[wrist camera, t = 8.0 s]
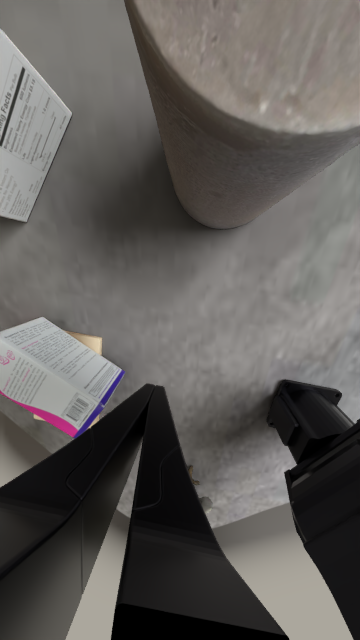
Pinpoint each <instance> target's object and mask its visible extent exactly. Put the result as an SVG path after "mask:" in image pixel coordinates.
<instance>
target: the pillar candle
mask: <svg viewBox="0 0 360 640" xmlns="http://www.w3.org/2000/svg"><path fill="white" fill-rule="evenodd" d="M124 2H125V6H126V10H127V13H128V16H129V20H130V24H131V28H132V32H133V35H134V39H135V43H136V46H137V50H138V53H139V57H140V61H141V65H142V68H143V72H144V76H145V80H146V83H147V86H148V90H149V94H150V97H151V101H152V105H153V109H154V112H155V116H156V120H157V124H158V128H159V132H160V135H161V140H162V145H163V148H164V153H165V157H166V160H167V164H168V167H169V172H170V176H171V178H172V183H173V187H174V190H175V193H176V195H177V197H178V200H179V201H180V203H181V205H182V207H183V208H184V209H185V211H186V212H187V213H188V214H189V215H190V216H191V217H192V218H193V219H195V220H196V221H198V222H199V223H201V224H203V225H205V226H208V227H211V228H217V229H229V228H235V227H239V226H241V225H244V224H246V223H248V222H250V221H252V220H253V219H255V218H256V217H258V216H259V215H260V214H262V213H263V212H265V211H266V210H268V209H269V208H271V207H272V206H273V205H275V204H276V203H278V202H279V201H280V200H282V199H283V198H284V197H286V196H287V195H289V194H290V193H291V192H293V191H294V190H296V189H297V188H298V187H300V186H301V185H303V184H304V183H305V182H307V181H308V180H310V179H311V178H312V177H314V176H315V175H316V174H318V173H319V172H321V171H322V170H324V169H325V168H326V167H328V166H330V165H331V164H332V163H333V162H335V161H336V160H337V159H338V158H340V157H341V156H343V155H344V154H345V153H347V152H348V151H349V150H351V149H352V148H354V147H355V146H357V145H358V144H360V0H124Z"/></svg>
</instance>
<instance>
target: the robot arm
mask: <svg viewBox="0 0 360 640" xmlns="http://www.w3.org/2000/svg"><path fill="white" fill-rule="evenodd" d="M286 384H288V385H287V386H285V385H286ZM335 394H336V395H335ZM341 397H342V393H341V392H340V391H338V390H336V389H331V388H326V387H321V386H316V385H311V384H305V383H300V382H295V381H290V380H284V381H282V383H281V385H280V388H279V390H278V393H277V396H276V397H275V398H274V401H273V403H272V406H271V409H270V411H269V416H268V418H267V424H268V426H270V427H274V428H276V430H277V432H278V434H279V436H280V438H281V440H282V442H283V444H284V445H285V446H288V448H289V450H290V452H291V454H292V456H293V458H294V460H295V462H296V464H297V465H296V466H295V467H294V468H292V469H291V470H287V471H286V472H284V474H285V479H286V484H287V490H288V495H289V500H290V504H291V510H292V515H293V520H294V523H295V527H296V531H297V533H298V535H299V536H300V538H301V540H302V542H303V545H304V548H305V550H306V551H307V553H308V554H309V555H310V557H311V559H312V560H313V562H314V563H315V565H316V566H317V568H318V570H319V571H320V573H321V575H322V577H323V579H324V580H325V582H326V584H327V586H328V587H329V589H330V591H331V593H332V595H333V597H334V599H335V601H336V603H337V605H338V607H339V609H340V611H341V613H342V615H343V618H344V620H345V622H346V624H347V626H348V628H349V631H350V633H351V635H352V637H353V639H354V640H360V419H359V420H357V423H356V424H354V423H353V421H352V420H351V419H350V418H349V417H348V416H347V415H346V414H345V413H344V412H343V411H342V410H341V409H340V408H339V407H338V406H337V404H338V402H339V401H340V399H341ZM271 422H272V423H271ZM142 440H143V442H142ZM141 443H142V448H141V455H140V461H139V468H138V474H137V480H136V487H135V493H134V500H133V506H132V513H131V519H130V525H129V532H128V537H127V544H126V549H125V555H124V561H123V566H122V572H121V578H120V584H119V589H118V595H117V601H116V607H115V613H114V620H113V627H112V635H111V640H289V638H288V636H287V635H286V634H285V632H284V631H283V630H282V629H281V627H280V626H279V625H278V624H277V622H276V621H275V620H274V618H273V617H272V616H271V615H270V613H269V612H268V611H267V610H266V608H265V607H264V606H263V604H262V603H261V602H260V600H258V598H257V597H256V595H255V594H254V593H253V592H252V590H251V589H250V588H249V586H248V585H247V584H246V583H245V581H244V580H243V579H242V577H241V576H240V575H239V574H238V572H237V571H236V570H235V568H234V567H233V566H232V565H231V563H230V562H229V561H228V559H227V558H226V556H225V555H224V553H223V551H222V550H221V548H220V546H219V544H218V542H217V540H216V538H215V536H214V533H213V531H212V529H211V526H210V524H209V521H208V519H207V517H206V514H205V512H204V509H203V507H202V504H201V502H200V500H199V497H198V495H197V492H196V490H195V487H194V485H193V482H192V480H191V477H190V474H189V472H188V469H187V466H186V463H185V460H184V456H183V453H182V449H181V446H180V442H179V439H178V435H177V431H176V428H175V424H174V421H173V417H172V413H171V410H170V406H169V402H168V399H167V395H166V392H165V388H164V387H163V386H158V385H156V386H155V385H153V384H145V385H144V386H143V387H142V388H140V389H139V390H138V391H136V392H135V393H134V394H133V395H131V396H130V397H129V398H127V399H126V400H125V401H123V402H122V403H121V404H120V405H118V406H117V407H116V408H114V409H113V410H112V411H110V412H109V413H108V414H107V415H105V416H104V417H103V418H101V419H100V420H99V421H98V422H96V423H95V424H94V425H92V426H91V428H88V429H87V430H86V431H84V432H83V433H82V434H81V435H79V436H78V437H76V438H75V439H74V440H72V441H71V442H70V443H68V444H67V445H65V446H64V447H62V448H61V449H59V450H58V451H56V452H55V453H53V454H52V455H51V456H49V457H47V458H46V459H44V460H43V461H41V462H40V463H38V464H37V465H35V466H33V467H32V468H31V469H29V470H27V471H26V472H24V473H22V474H21V475H20V476H18V477H16V478H15V479H13V480H12V481H10V482H8V483H7V484H5V485H4V486H2V487H0V640H65V639H66V636H67V634H68V631H69V628H70V626H71V623H72V621H73V618H74V616H75V613H76V611H77V608H78V605H79V603H80V600H81V597H82V594H83V592H84V590H85V587H86V585H87V582H88V579H89V577H90V574H91V572H92V569H93V566H94V564H95V561H96V559H97V556H98V553H99V551H100V549H101V546H102V543H103V541H104V538H105V536H106V533H107V530H108V528H109V525H110V522H111V520H112V518H113V515H114V512H115V510H116V507H117V505H118V502H119V500H120V497H121V494H122V492H123V489H124V487H125V484H126V482H127V479H128V476H129V474H130V471H131V469H132V466H133V464H134V461H135V458H136V456H137V453H138V451H139V448H140V445H141Z"/></svg>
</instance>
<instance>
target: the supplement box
mask: <svg viewBox="0 0 360 640" xmlns="http://www.w3.org/2000/svg"><path fill="white" fill-rule="evenodd" d="M124 374H125V371H123V370H122V369H120V368H119V367H117V366H116V365H114V364H113V363H111V362H110V361H108V360H107V359H105V358H104V357H102V356H101V355H99V354H98V353H96V352H95V351H93V350H92V349H90V348H89V347H87V346H86V345H84V344H83V343H81V342H80V341H78V340H77V339H75V338H74V337H72V336H71V335H69V334H68V333H66V332H65V331H63V330H62V329H60V328H59V327H57V326H56V325H54V324H53V323H51V322H50V321H48V320H47V319H45V318H44V317H40V318H37V319H35V320H32V321H29V322H26V323H24V324H21V325H18V326H15V327H12V328H9V329H6V330H3V331H0V393H1V394H2V395H4V396H5V397H7V398H9V399H11V400H12V401H14V402H15V403H17V404H19V405H20V406H22V407H24V408H25V409H27V410H29V411H30V412H32V413H34V414H35V415H37V416H39V417H40V418H42V419H44V420H45V421H47V422H49V423H50V424H52V425H54V426H55V427H57V428H59V429H60V430H62V431H64V432H65V433H67V434H68V435H70V436H72V437H73V438H76V437H78V436H79V435H81V434H82V433H83V432H84V431H86V430H87V429H88V427H89V426H90V425H91V424H92V422H93V421H94V420H95V419H96V417H97V416H98V415H99V414H100V412H101V411H102V410H103V408H104V407H105V406H106V404H107V403H108V401H109V399H110V398H111V396H112V394H113V393H114V391H115V389H116V388H117V386H118V384H119V383H120V381H121V380H122V378H123V376H124Z"/></svg>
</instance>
